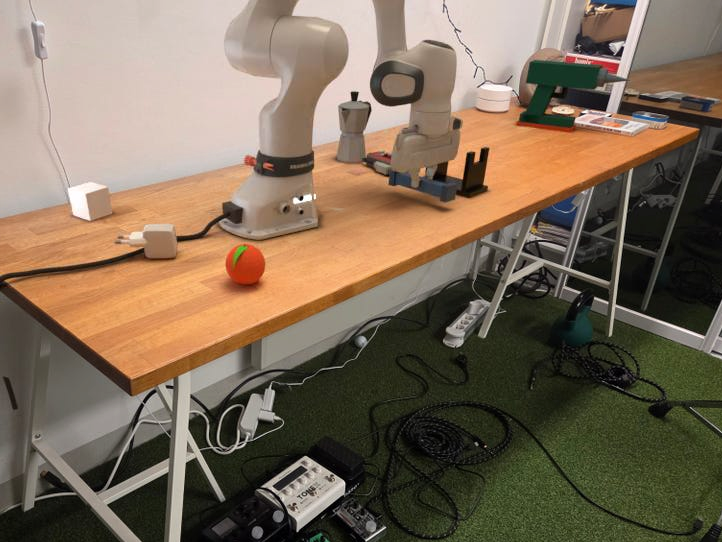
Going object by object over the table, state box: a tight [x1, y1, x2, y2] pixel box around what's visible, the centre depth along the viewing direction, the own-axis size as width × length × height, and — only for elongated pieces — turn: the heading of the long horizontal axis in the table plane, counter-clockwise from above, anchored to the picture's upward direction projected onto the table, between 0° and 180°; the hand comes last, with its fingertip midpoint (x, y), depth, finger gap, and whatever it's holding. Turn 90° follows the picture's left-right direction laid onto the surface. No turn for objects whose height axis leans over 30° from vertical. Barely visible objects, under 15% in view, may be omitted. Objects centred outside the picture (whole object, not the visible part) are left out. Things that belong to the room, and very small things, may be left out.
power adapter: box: [114, 223, 178, 259], centre depth 115 cm, size 11×5×6 cm, turn 93°
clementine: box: [225, 243, 266, 285], centre depth 105 cm, size 8×7×7 cm
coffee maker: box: [336, 90, 373, 164], centre depth 170 cm, size 15×9×18 cm, turn 143°
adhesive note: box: [67, 181, 113, 222], centre depth 134 cm, size 6×6×6 cm
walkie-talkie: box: [362, 150, 392, 176], centre depth 163 cm, size 9×4×20 cm
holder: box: [424, 146, 490, 199], centre depth 151 cm, size 8×15×10 cm, turn 44°
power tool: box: [515, 59, 632, 133], centre depth 202 cm, size 32×7×20 cm, turn 58°
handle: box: [388, 170, 457, 203], centre depth 142 cm, size 4×17×4 cm, turn 41°
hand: (421, 185), depth 142 cm, fingers closed on handle, 2 cm apart
